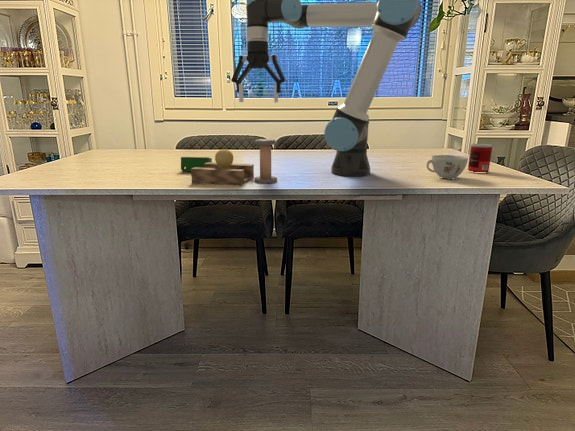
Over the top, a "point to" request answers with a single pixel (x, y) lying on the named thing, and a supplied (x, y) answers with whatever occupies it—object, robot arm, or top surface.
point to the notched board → (223, 174)
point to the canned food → (480, 157)
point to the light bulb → (224, 158)
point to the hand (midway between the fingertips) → (258, 102)
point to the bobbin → (265, 162)
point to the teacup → (448, 165)
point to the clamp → (193, 162)
